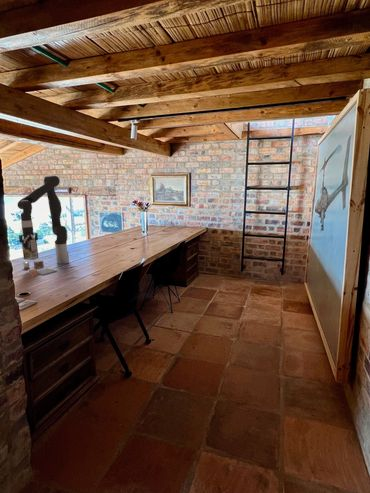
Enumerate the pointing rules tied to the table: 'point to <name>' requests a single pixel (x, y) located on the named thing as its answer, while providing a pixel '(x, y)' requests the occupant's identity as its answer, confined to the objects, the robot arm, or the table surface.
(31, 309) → the table surface
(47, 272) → the slate mat
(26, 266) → the steel cylinder
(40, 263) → the walnut block
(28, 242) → the coffee box
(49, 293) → the table surface
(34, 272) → the terracotta block
